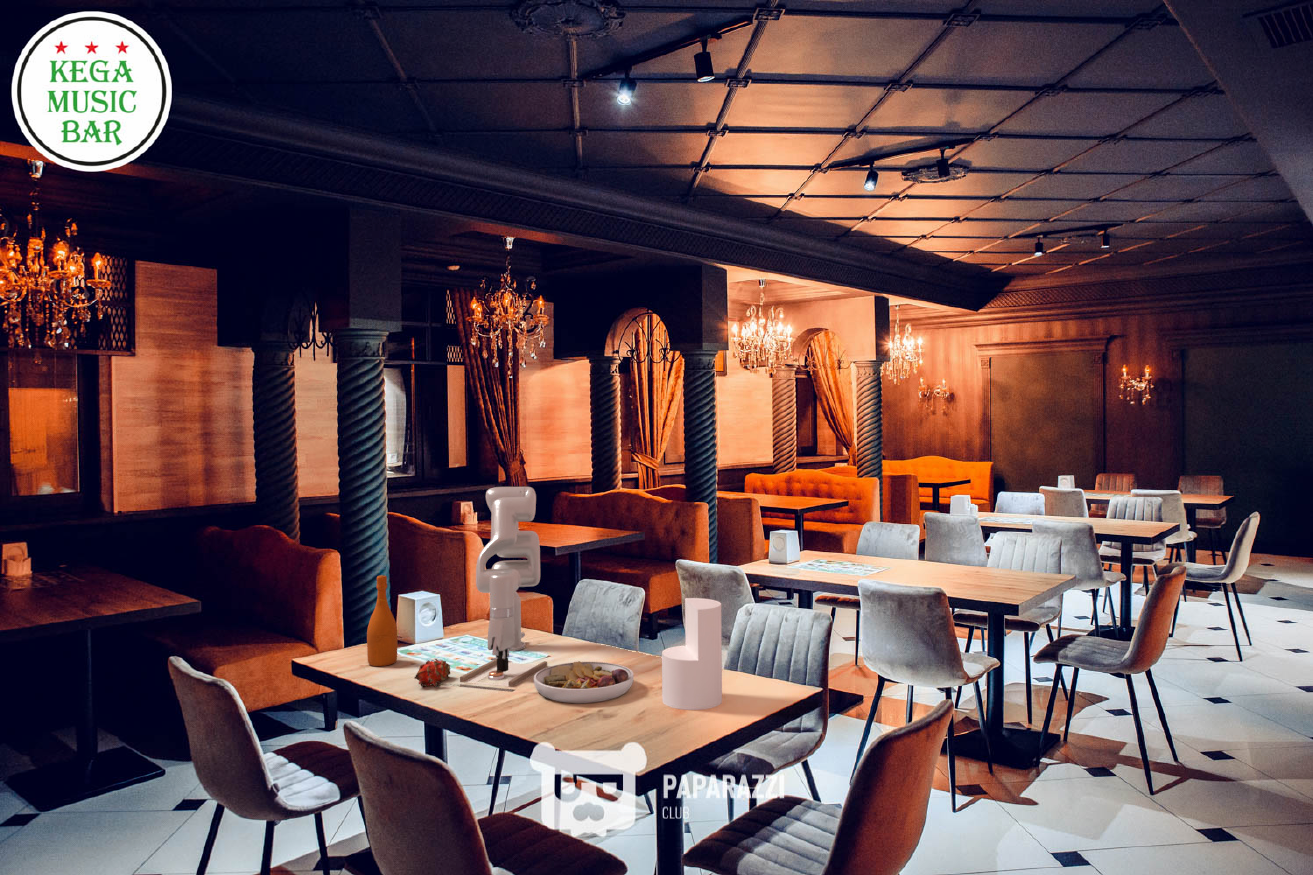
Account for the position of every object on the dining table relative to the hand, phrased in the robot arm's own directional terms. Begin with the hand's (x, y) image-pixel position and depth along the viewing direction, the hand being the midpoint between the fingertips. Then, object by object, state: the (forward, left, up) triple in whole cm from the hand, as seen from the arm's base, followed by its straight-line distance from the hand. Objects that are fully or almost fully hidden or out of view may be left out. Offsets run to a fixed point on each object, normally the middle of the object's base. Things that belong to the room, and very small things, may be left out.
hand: (502, 670), depth 270 cm
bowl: (+2, +29, -4) cm, 29 cm away
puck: (+3, -1, -3) cm, 4 cm away
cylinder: (+2, +63, -3) cm, 63 cm away
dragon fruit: (+11, -18, -3) cm, 22 cm away
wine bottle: (-6, -49, -3) cm, 49 cm away
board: (-2, 0, -3) cm, 3 cm away
